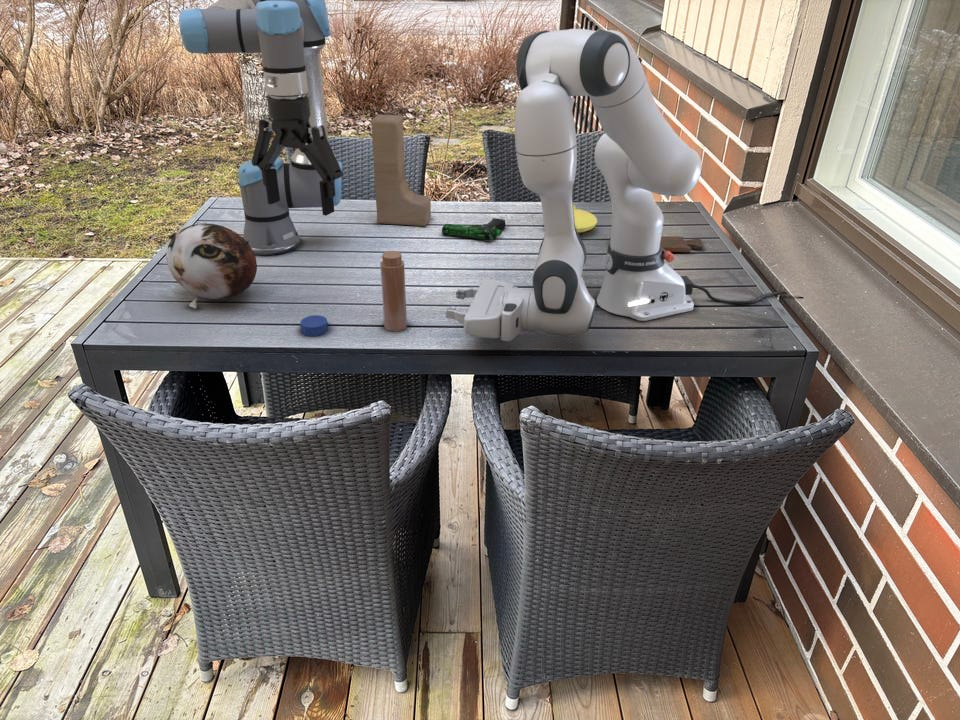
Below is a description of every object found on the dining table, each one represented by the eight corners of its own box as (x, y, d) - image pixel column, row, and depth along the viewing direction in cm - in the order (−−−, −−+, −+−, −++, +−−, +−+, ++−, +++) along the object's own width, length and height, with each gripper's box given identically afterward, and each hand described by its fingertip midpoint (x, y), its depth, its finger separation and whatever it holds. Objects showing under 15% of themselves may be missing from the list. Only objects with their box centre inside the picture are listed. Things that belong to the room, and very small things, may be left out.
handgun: (511, 219, 210) (493, 234, 198) (511, 228, 211) (492, 244, 199) (461, 212, 215) (440, 226, 203) (461, 221, 217) (440, 236, 204)
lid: (325, 336, 153) (324, 327, 152) (298, 335, 153) (297, 327, 152) (330, 324, 158) (329, 315, 157) (305, 323, 158) (303, 314, 157)
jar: (382, 322, 159) (377, 251, 150) (404, 319, 160) (400, 248, 152) (386, 332, 155) (382, 260, 146) (409, 329, 156) (406, 257, 148)
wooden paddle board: (706, 254, 196) (698, 241, 204) (708, 249, 195) (699, 236, 203) (612, 251, 196) (608, 238, 205) (613, 245, 195) (608, 232, 204)
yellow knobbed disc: (559, 216, 220) (561, 193, 217) (605, 227, 212) (608, 204, 209) (532, 230, 209) (533, 207, 206) (580, 242, 201) (582, 218, 198)
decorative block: (426, 226, 211) (423, 122, 195) (376, 223, 212) (370, 119, 197) (431, 218, 217) (429, 116, 202) (383, 215, 219) (377, 114, 203)
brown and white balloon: (130, 285, 161) (164, 203, 163) (192, 308, 177) (221, 233, 178) (195, 307, 151) (229, 220, 152) (254, 330, 166) (285, 250, 168)
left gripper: (221, 91, 133) (239, 202, 144) (330, 106, 123) (340, 224, 134) (249, 85, 138) (265, 192, 149) (355, 98, 129) (363, 212, 140)
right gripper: (523, 275, 157) (462, 269, 159) (508, 317, 140) (439, 310, 142) (522, 301, 160) (462, 295, 162) (507, 345, 143) (440, 338, 145)
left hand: (300, 207), depth 142 cm, fingers open, 13 cm apart
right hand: (451, 302), depth 152 cm, fingers open, 8 cm apart
